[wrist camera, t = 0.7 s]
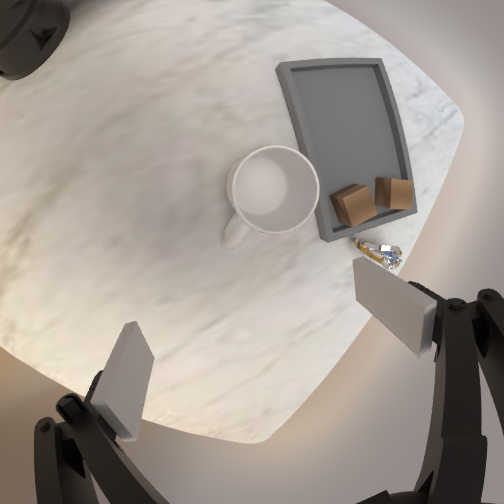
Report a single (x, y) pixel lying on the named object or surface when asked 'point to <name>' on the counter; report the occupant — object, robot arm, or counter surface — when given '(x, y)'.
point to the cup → (270, 193)
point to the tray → (346, 132)
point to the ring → (383, 250)
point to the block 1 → (353, 204)
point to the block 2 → (393, 193)
